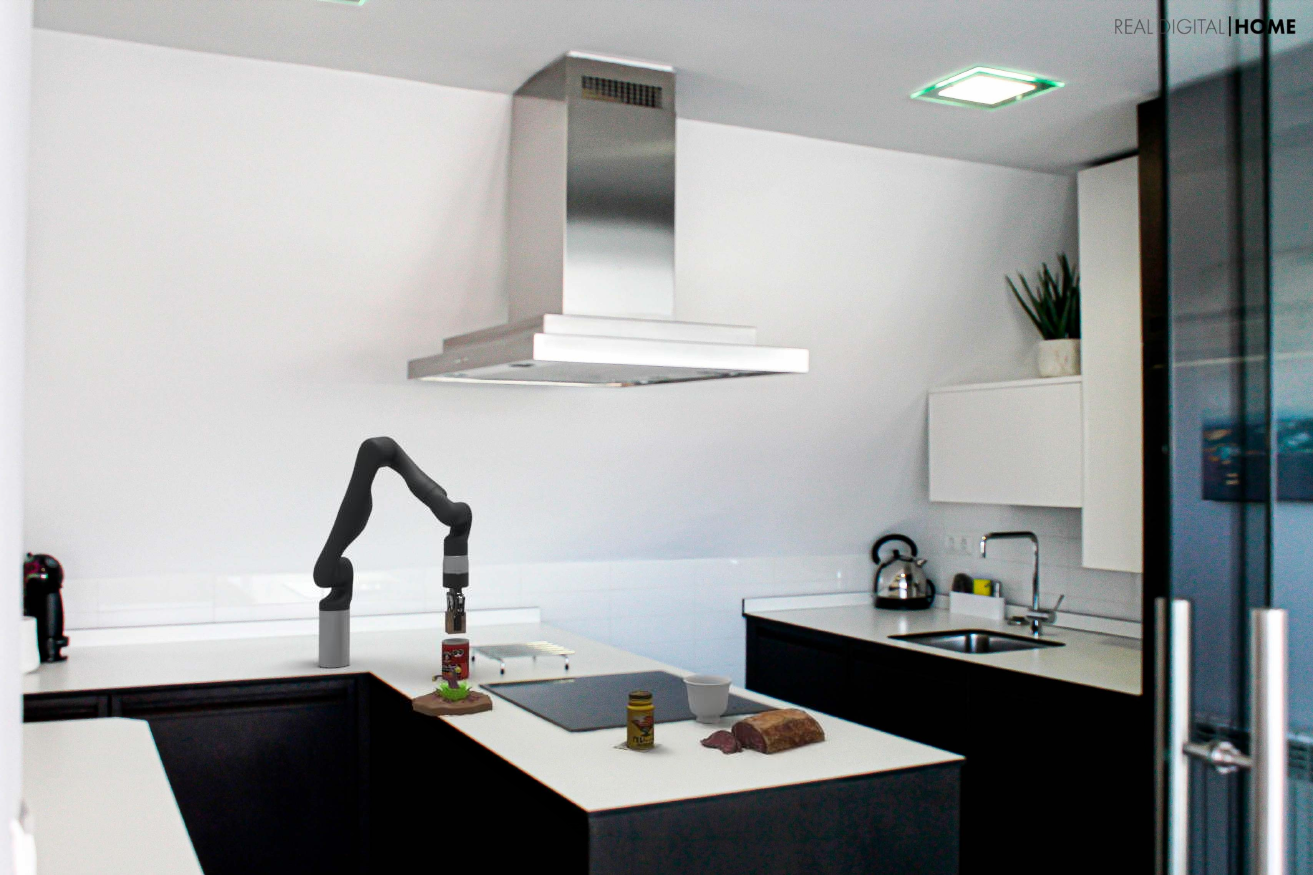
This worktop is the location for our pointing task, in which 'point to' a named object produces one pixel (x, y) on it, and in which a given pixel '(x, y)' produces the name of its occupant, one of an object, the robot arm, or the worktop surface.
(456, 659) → the canned food
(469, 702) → the plant
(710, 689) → the teacup
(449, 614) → the walnut block
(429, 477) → the robot arm
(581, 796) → the worktop surface
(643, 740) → the condiment
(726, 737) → the cured meat
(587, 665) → the worktop surface
